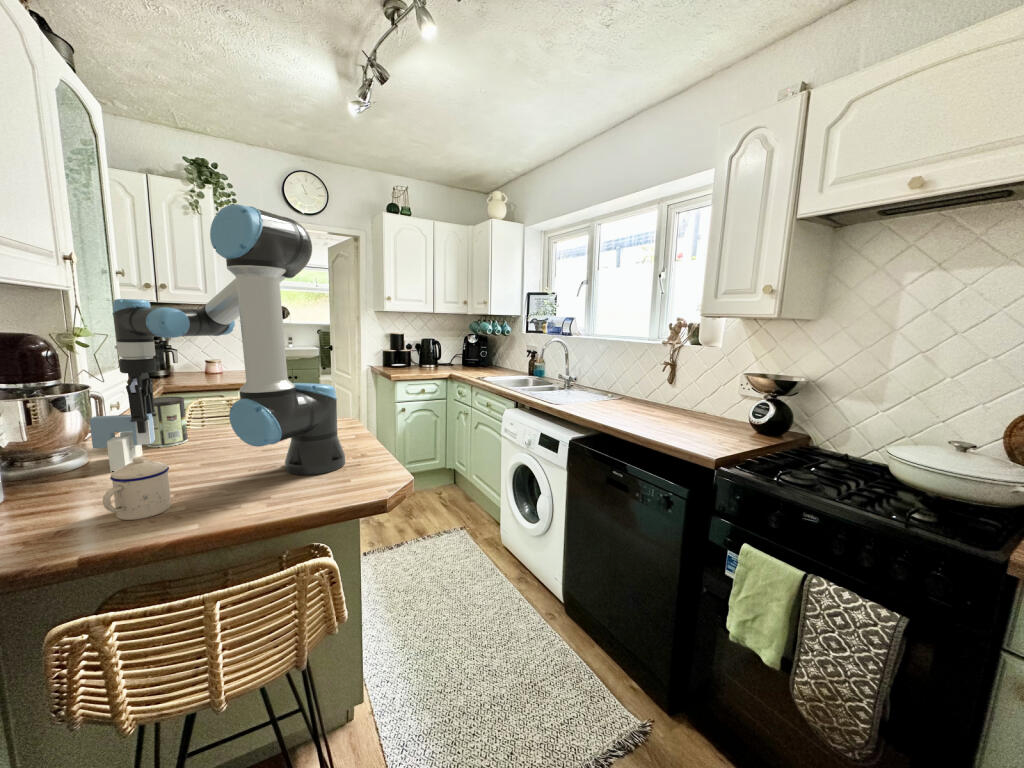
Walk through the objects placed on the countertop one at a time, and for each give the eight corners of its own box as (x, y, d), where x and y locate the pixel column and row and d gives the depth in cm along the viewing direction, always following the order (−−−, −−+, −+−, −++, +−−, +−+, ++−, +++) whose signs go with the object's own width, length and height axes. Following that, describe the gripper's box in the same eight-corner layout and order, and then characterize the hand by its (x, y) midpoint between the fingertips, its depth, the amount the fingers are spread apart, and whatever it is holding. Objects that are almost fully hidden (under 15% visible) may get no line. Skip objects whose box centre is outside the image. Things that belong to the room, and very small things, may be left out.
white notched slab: (125, 470, 110) (122, 440, 109) (110, 471, 109) (106, 441, 107) (142, 454, 122) (139, 427, 121) (129, 455, 121) (126, 428, 120)
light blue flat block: (151, 444, 116) (148, 415, 115) (92, 448, 110) (89, 419, 109) (154, 441, 119) (151, 413, 117) (97, 445, 113) (94, 416, 112)
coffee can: (167, 437, 139) (163, 395, 137) (196, 439, 138) (192, 397, 136) (137, 446, 129) (132, 401, 127) (168, 448, 128) (163, 403, 126)
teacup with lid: (145, 500, 93) (140, 449, 91) (183, 503, 92) (178, 452, 90) (86, 526, 81) (78, 468, 79) (129, 530, 80) (122, 471, 78)
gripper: (129, 355, 118) (138, 435, 122) (107, 361, 104) (118, 452, 108) (163, 354, 122) (170, 433, 125) (146, 360, 108) (155, 448, 111)
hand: (146, 441), depth 117 cm, fingers closed on light blue flat block, 3 cm apart
